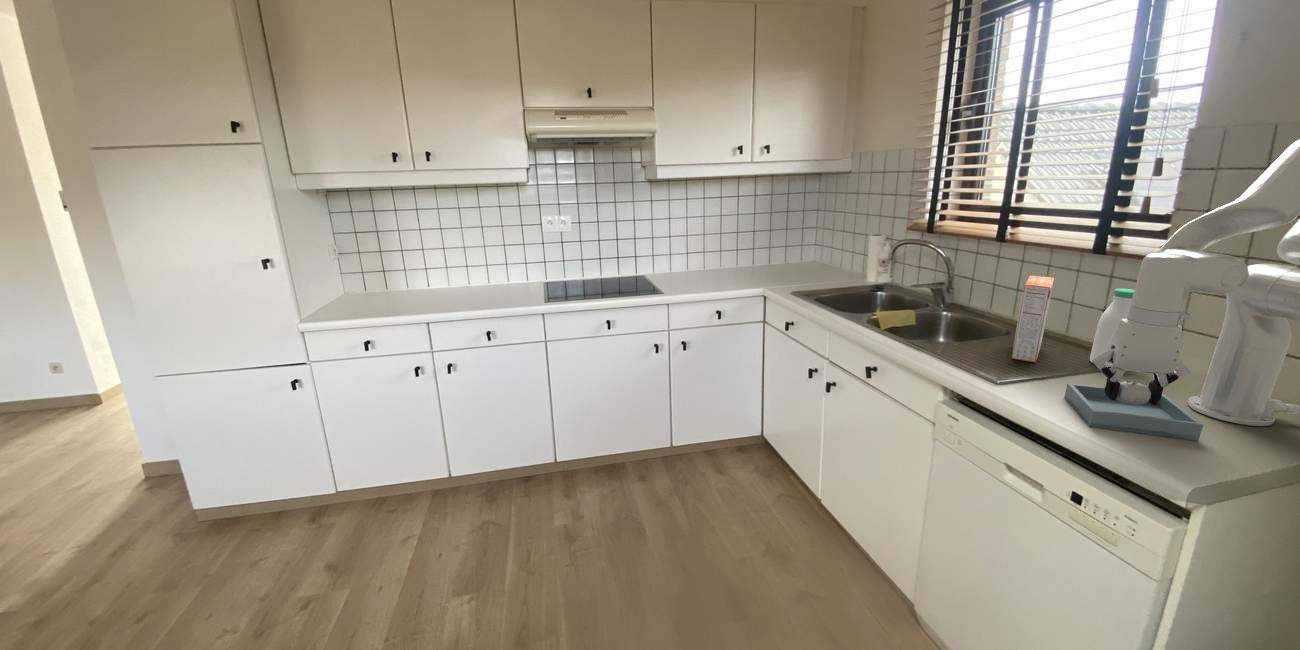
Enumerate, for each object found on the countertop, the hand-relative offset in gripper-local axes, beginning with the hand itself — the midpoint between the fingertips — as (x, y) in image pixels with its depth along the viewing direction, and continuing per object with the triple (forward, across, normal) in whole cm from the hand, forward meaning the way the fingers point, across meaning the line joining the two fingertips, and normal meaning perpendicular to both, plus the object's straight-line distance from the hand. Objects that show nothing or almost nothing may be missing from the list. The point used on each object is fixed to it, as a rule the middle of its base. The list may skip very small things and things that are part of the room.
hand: (1130, 399), depth 110 cm
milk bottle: (+4, -9, -36) cm, 37 cm away
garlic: (+1, 0, 0) cm, 1 cm away
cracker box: (+4, +9, -38) cm, 39 cm away
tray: (+4, 0, 0) cm, 4 cm away
